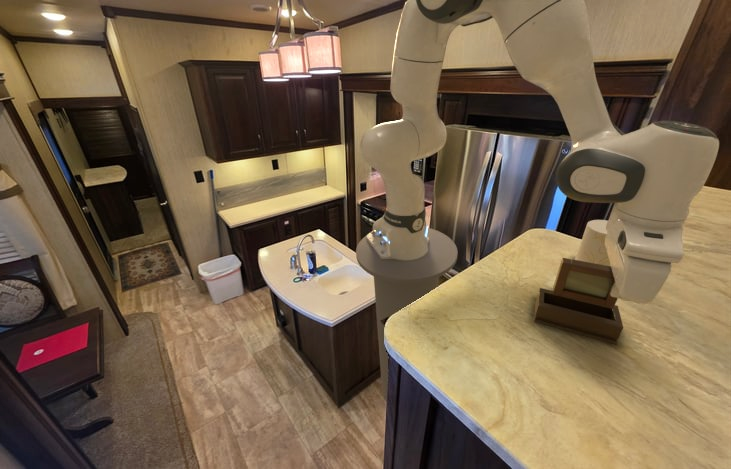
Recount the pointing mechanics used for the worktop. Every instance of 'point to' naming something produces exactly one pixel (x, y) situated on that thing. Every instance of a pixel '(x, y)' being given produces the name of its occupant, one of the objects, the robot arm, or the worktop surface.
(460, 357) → the worktop surface
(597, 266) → the frame
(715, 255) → the worktop surface
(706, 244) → the worktop surface
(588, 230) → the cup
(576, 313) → the holder
